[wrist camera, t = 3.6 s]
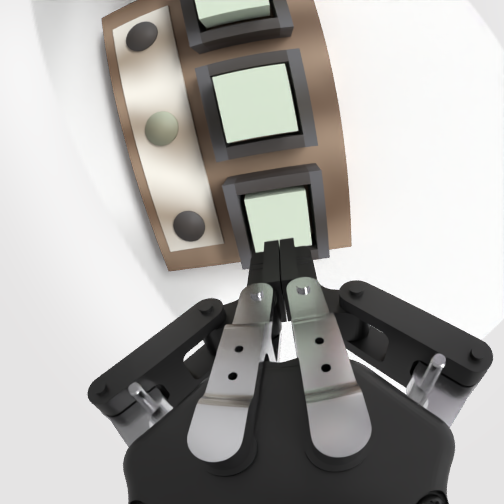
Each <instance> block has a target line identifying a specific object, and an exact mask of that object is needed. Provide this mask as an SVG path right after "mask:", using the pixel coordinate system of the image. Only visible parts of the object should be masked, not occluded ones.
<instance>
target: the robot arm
mask: <svg viewBox="0 0 504 504" xmlns="http://www.w3.org/2000/svg"><path fill="white" fill-rule="evenodd" d="M286 311H287V318H288V321H291V322H292V329H293V336H294V342H295V348H296V354H297V358H296V359H293V360H289V361H286V362H282V363H279V360H280V349H281V337H282V334H281V328H282V326H281V322H287V319H286ZM370 325H371V326H370ZM372 326H373V327H372ZM377 329H378V330H377ZM379 330H380V331H379ZM382 332H383V333H382ZM202 340H203V341H204V343H205V344H204V345H203V346H202V347H201V348H200V349H198V350H197V351H196V352H195V353H194V354H192V355H191V356H190V357H189V358H188V359H187V360H185V361H184V362H183V359H184V356H185V354H186V353H187V352H188V351H190V350H191V349H192V348H193V347H194V346H196V345H197V344H198V343H199V342H201V341H202ZM346 349H348V350H349V351H351V352H352V353H354V354H355V355H357V356H358V357H360V358H361V359H363V360H364V361H366V362H367V363H369V364H370V365H372V366H373V367H375V368H376V369H378V370H380V371H381V372H383V373H384V374H386V375H387V376H389V377H390V378H392V379H393V380H395V381H396V382H398V383H400V384H401V385H403V386H404V387H406V393H407V395H406V394H404V393H403V392H401V391H400V390H399V389H397V388H396V387H394V386H393V385H391V384H390V383H389V382H387V381H386V380H384V379H383V378H382V377H380V376H379V375H377V374H376V373H375V372H373V371H372V370H371V369H369V368H368V367H366V366H365V365H363V364H361V363H359V362H356V361H354V360H350V359H349V357H348V354H347V351H346ZM492 361H493V354H492V350H491V348H490V347H489V346H488V345H487V344H486V343H485V342H483V341H482V340H480V339H478V338H476V337H474V336H472V335H470V334H468V333H466V332H465V331H463V330H461V329H459V328H457V327H455V326H453V325H451V324H449V323H447V322H445V321H443V320H441V319H439V318H437V317H435V316H433V315H431V314H429V313H427V312H425V311H423V310H421V309H419V308H417V307H415V306H413V305H411V304H409V303H407V302H405V301H403V300H401V299H399V298H397V297H395V296H393V295H391V294H389V293H387V292H385V291H383V290H381V289H379V288H377V287H375V286H372V285H370V284H368V283H366V282H363V281H350V282H347V283H345V284H343V285H342V286H341V288H340V290H332V289H327V288H325V287H323V286H321V285H320V284H319V282H318V281H317V277H316V272H315V268H314V264H313V259H312V255H311V251H310V250H309V249H308V248H307V247H306V246H298V247H295V245H294V238H287V239H280V245H279V240H273V241H266V242H264V251H263V252H256V253H255V254H254V255H253V256H252V258H251V260H250V268H249V276H248V283H247V287H246V288H244V289H243V290H242V292H241V294H240V297H239V299H238V300H236V301H234V302H232V303H229V304H226V305H223V304H222V302H221V301H220V300H218V299H214V298H209V299H205V300H202V301H200V302H198V303H197V304H195V305H194V306H193V307H191V308H190V309H189V310H187V311H186V312H185V313H183V314H182V315H181V316H180V317H178V318H177V319H176V320H174V321H173V322H172V323H170V324H169V325H168V326H166V327H165V328H164V329H162V330H161V331H160V332H158V333H157V334H156V335H154V336H153V337H152V338H150V339H149V340H148V341H146V342H145V343H144V344H142V345H141V346H140V347H138V348H137V349H136V350H134V351H133V352H132V353H130V354H129V355H128V356H126V357H125V358H124V359H122V360H121V361H120V362H118V363H117V364H116V365H114V366H113V367H112V368H110V369H109V370H108V371H106V372H105V373H104V374H102V375H101V376H100V377H98V378H97V379H96V380H94V381H93V382H92V384H91V385H90V387H89V389H88V398H89V400H90V402H92V404H94V405H95V406H96V407H97V408H98V409H99V410H100V411H101V412H102V413H103V415H105V416H106V417H107V418H108V419H109V420H111V422H112V423H113V425H114V426H115V428H116V429H117V431H118V432H119V434H120V435H121V437H122V438H123V439H124V441H125V443H126V444H127V445H128V447H129V448H128V450H127V452H126V454H125V457H124V462H123V468H124V469H123V470H124V475H125V479H126V482H127V487H128V497H129V498H128V499H129V502H128V504H449V503H448V500H447V481H448V475H449V471H450V467H451V464H452V461H453V457H454V451H455V442H454V437H453V434H452V432H451V430H450V426H451V425H452V423H453V422H454V420H455V418H456V417H457V415H458V413H459V412H460V410H461V408H462V406H463V405H464V403H465V401H466V399H467V397H468V396H469V395H470V394H471V392H472V391H473V390H474V388H475V387H476V386H477V384H478V383H479V382H480V380H481V379H482V377H483V376H484V374H485V373H486V372H487V370H488V369H489V367H490V365H491V364H492Z"/></svg>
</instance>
